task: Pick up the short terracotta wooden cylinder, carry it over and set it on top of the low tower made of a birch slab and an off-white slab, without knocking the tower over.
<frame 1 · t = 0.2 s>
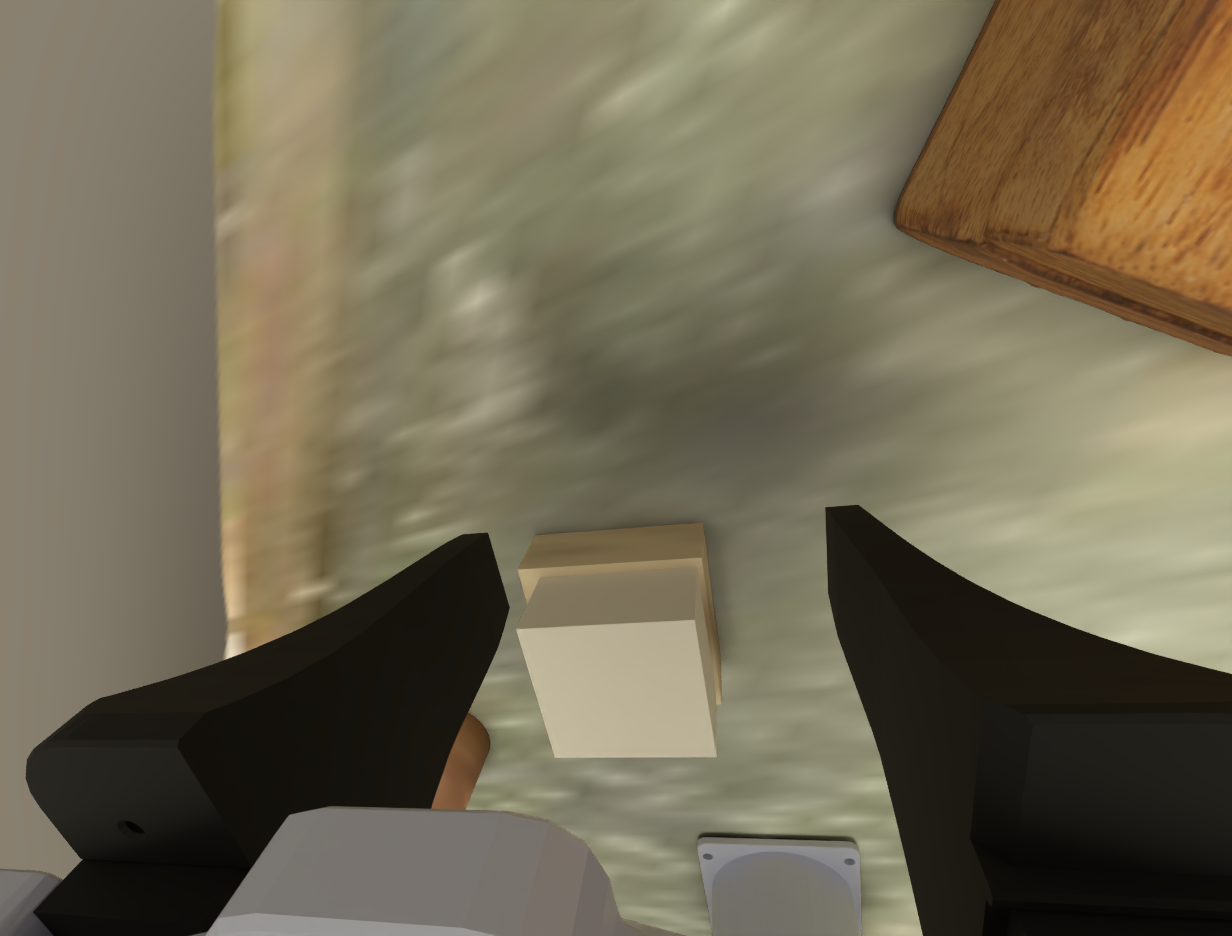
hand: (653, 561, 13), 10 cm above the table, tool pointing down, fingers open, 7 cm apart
tower base: (632, 593, 26), on the table
tower top: (629, 636, 23), point 3 cm above the table
cylinder: (449, 735, 31), on the table
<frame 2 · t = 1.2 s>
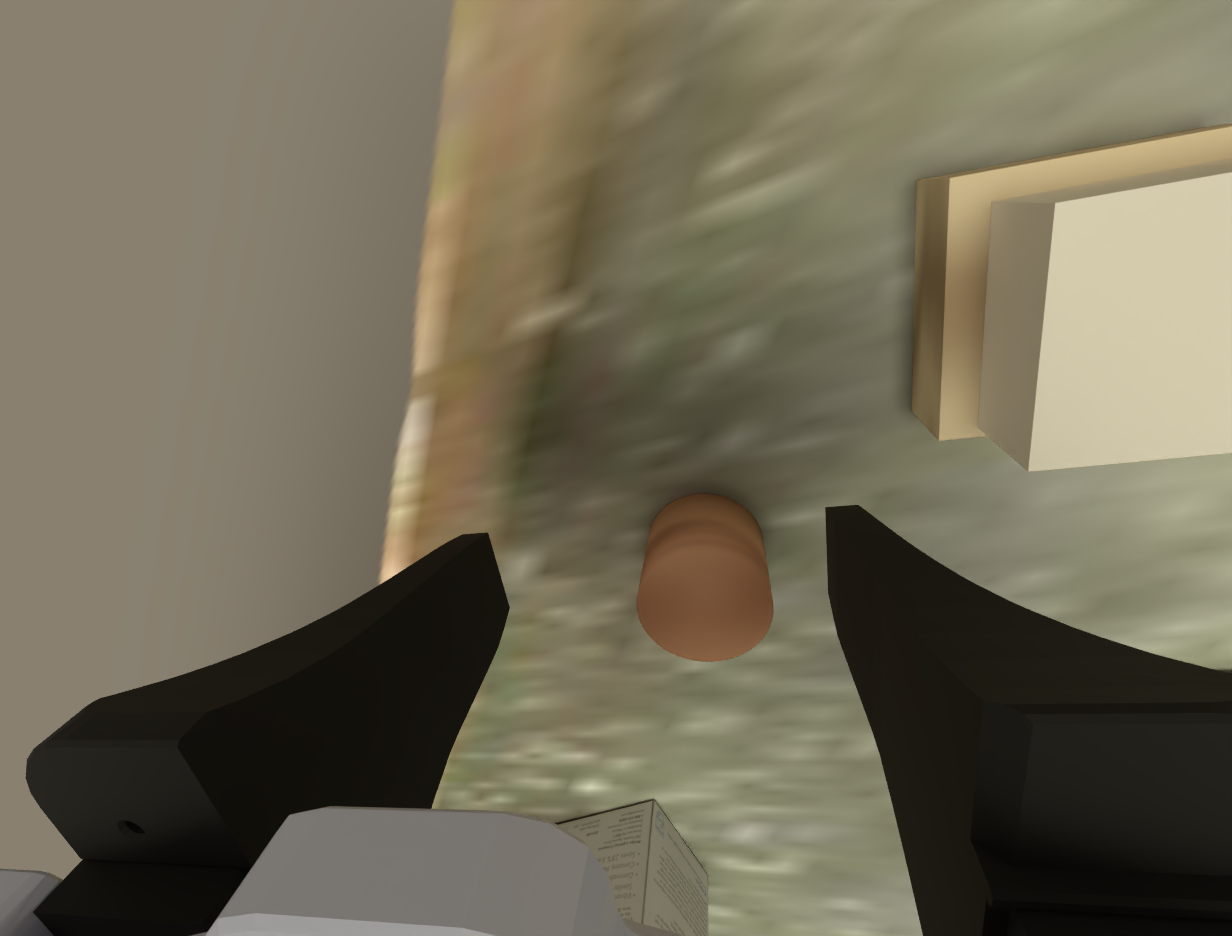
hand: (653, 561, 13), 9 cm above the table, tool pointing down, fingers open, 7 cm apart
tower base: (1034, 284, 18), on the table
tower top: (1113, 304, 15), point 3 cm above the table
light bulb box: (598, 852, 32), on the table
cylinder: (704, 544, 23), on the table
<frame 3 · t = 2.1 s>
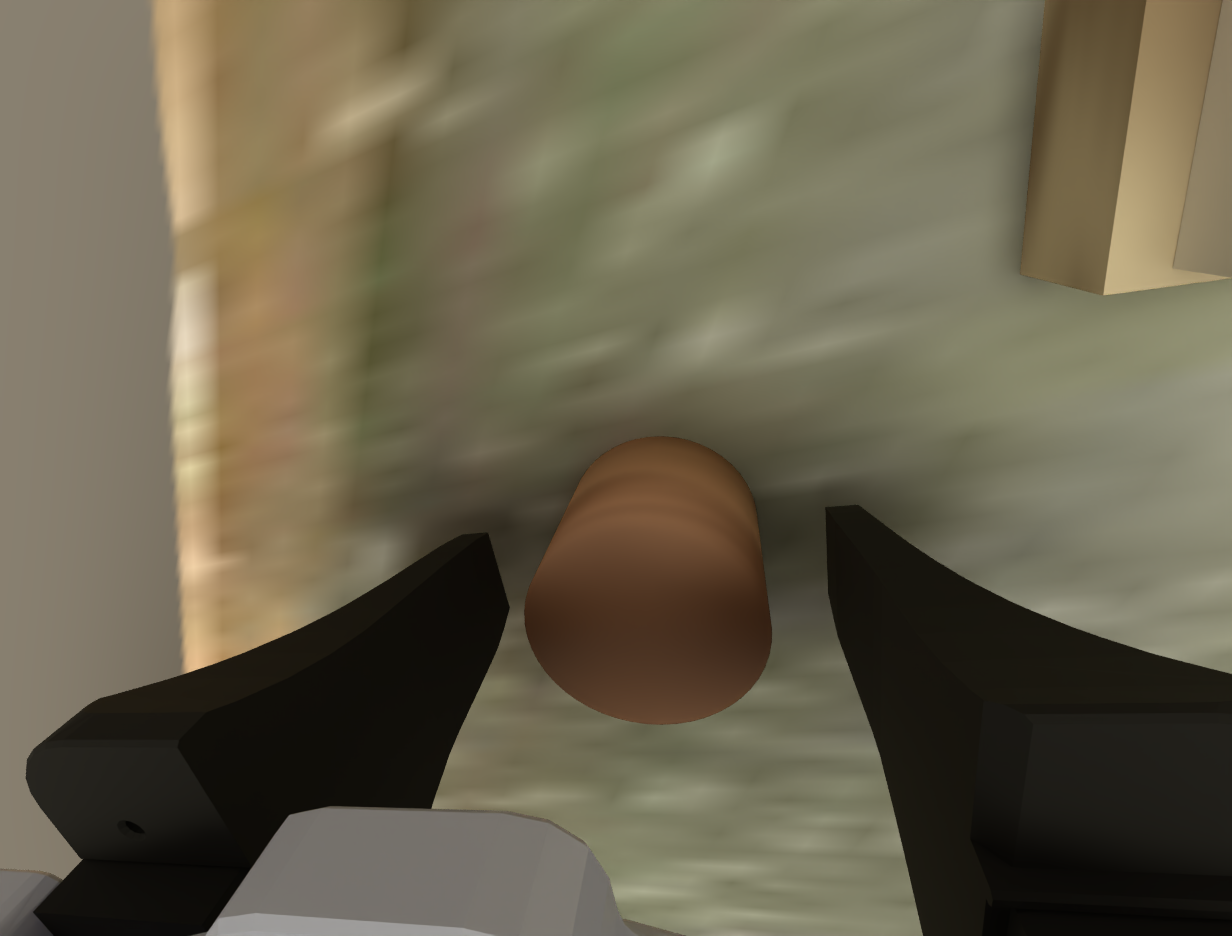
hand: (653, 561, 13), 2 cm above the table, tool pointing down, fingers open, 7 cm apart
cylinder: (662, 522, 14), on the table
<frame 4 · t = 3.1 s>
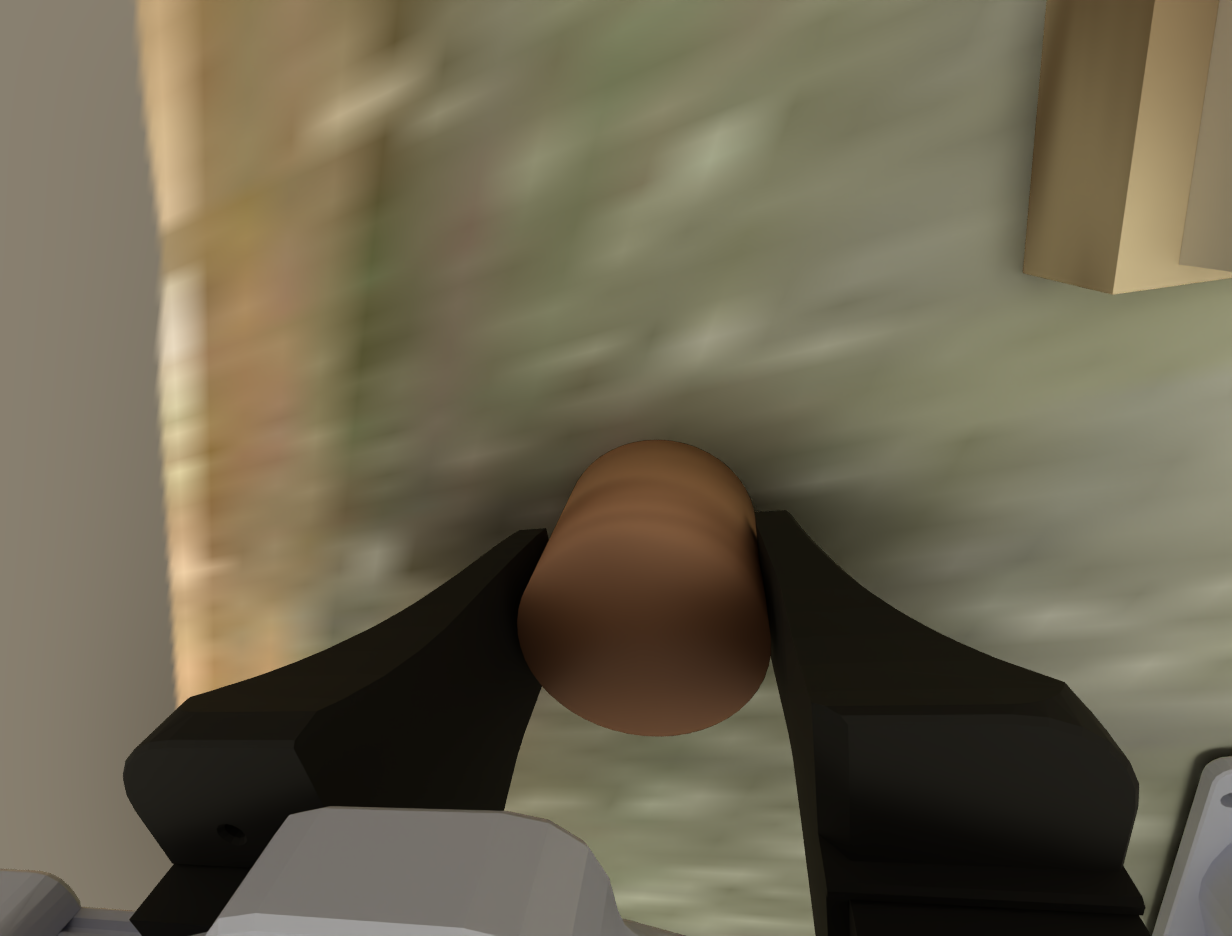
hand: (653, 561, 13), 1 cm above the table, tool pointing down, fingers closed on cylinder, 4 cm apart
cylinder: (659, 527, 14), on the table, touching gripper
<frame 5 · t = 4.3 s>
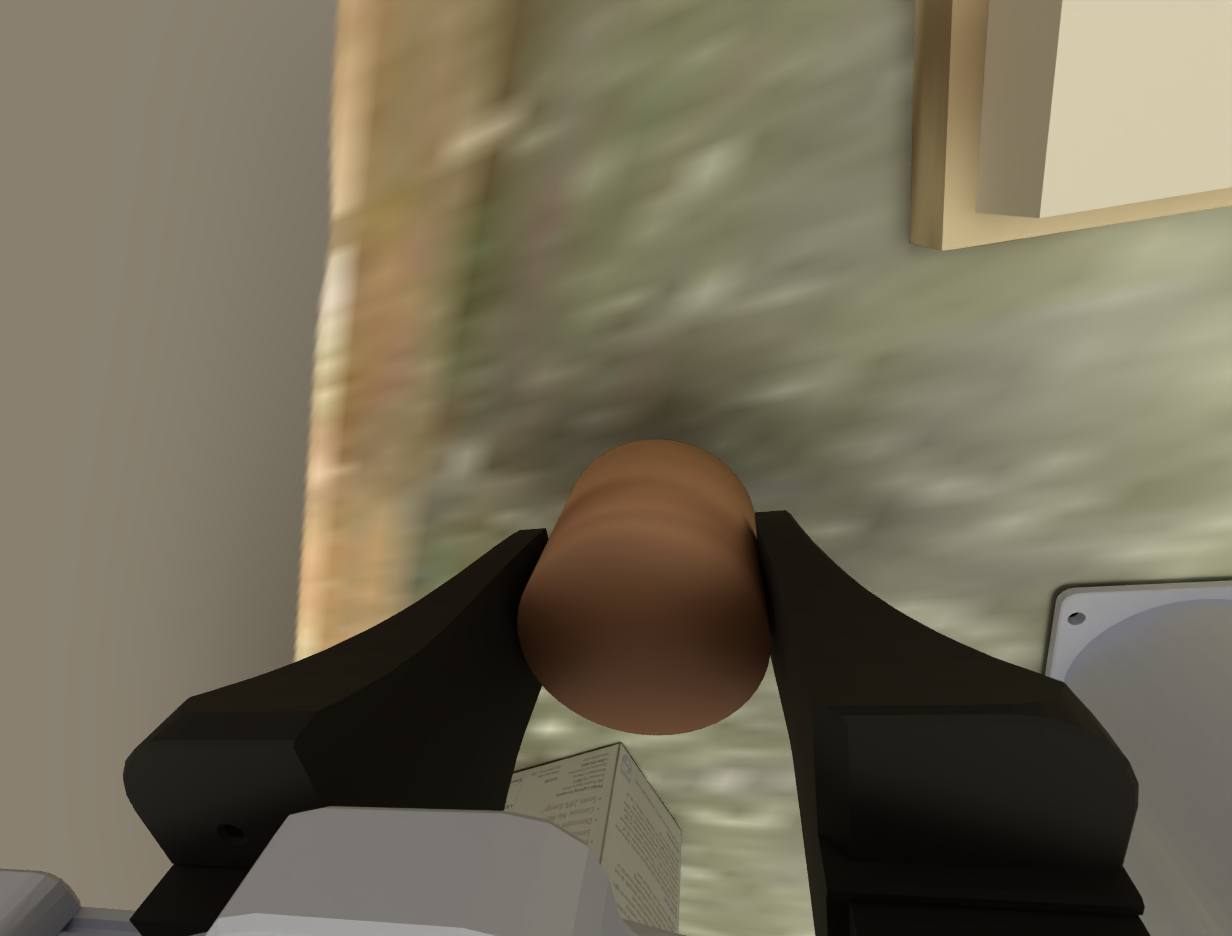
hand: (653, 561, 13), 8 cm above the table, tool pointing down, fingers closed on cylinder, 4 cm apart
tower base: (1059, 69, 15), on the table, touching tower top
tower top: (1148, 25, 12), point 3 cm above the table, touching tower base
light bulb box: (560, 806, 29), on the table
cylinder: (659, 526, 14), point 6 cm above the table, touching gripper
when the fingers open (8 cm above the table, at t = 7.0 s): cylinder drops 1 cm, resting on tower top.
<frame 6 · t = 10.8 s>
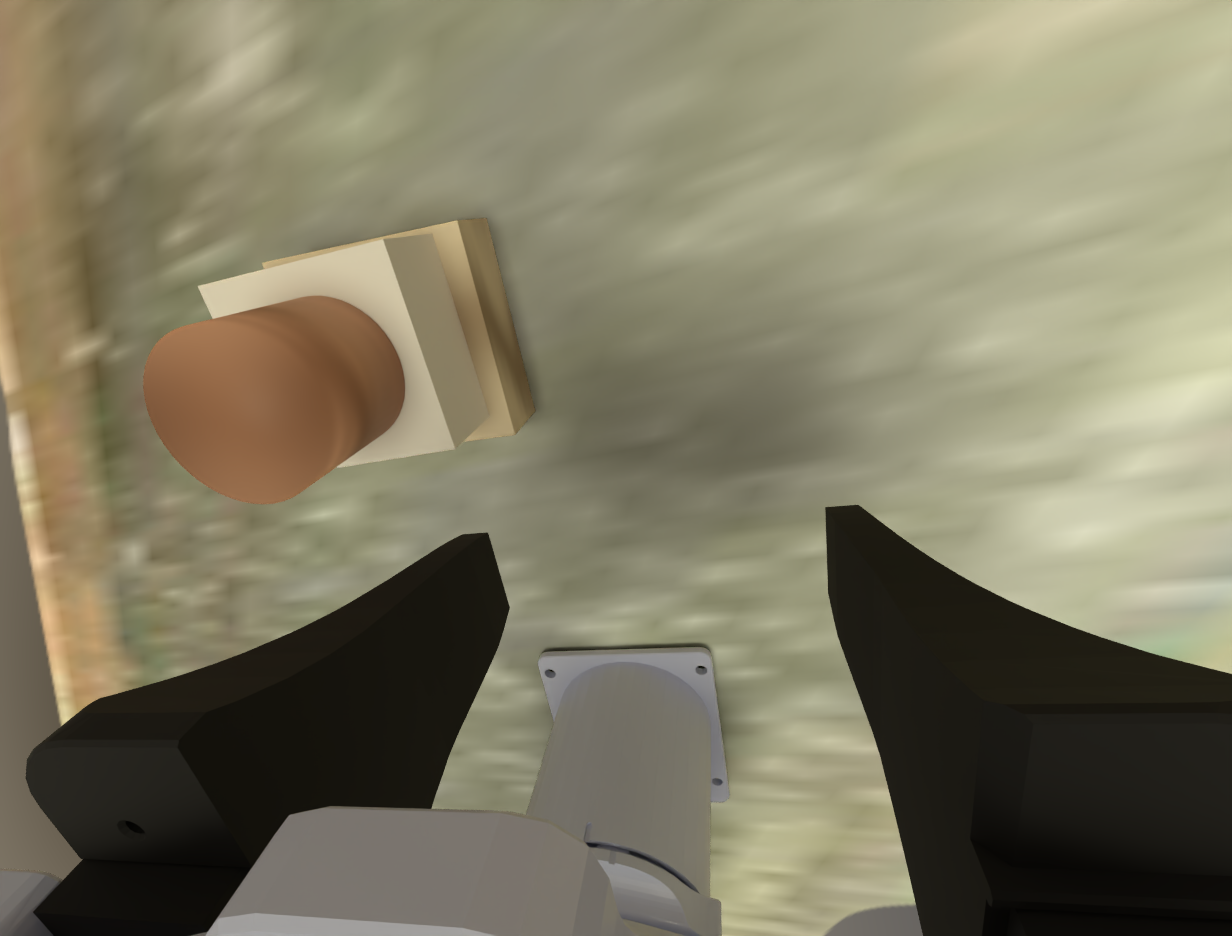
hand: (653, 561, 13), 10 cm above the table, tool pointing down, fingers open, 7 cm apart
tower base: (430, 333, 23), on the table, touching tower top
tower top: (381, 346, 20), point 3 cm above the table, touching cylinder, tower base
cylinder: (333, 373, 17), point 6 cm above the table, touching tower top
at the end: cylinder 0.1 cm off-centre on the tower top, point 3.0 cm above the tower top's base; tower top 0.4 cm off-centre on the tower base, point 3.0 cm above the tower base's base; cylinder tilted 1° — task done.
